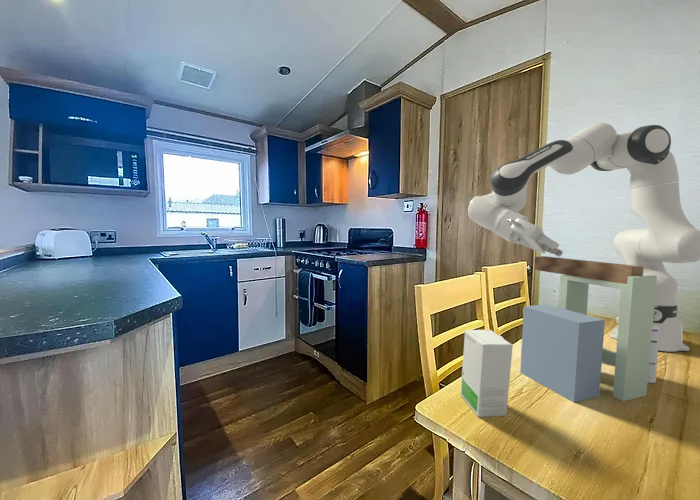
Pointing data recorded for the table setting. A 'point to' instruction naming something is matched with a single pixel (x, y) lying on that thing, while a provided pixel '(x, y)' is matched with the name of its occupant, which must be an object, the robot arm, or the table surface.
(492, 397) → the skincare box
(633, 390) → the sage shelf
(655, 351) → the syrup box
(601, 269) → the walnut batten
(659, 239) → the robot arm
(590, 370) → the slate-blue block
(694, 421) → the table surface
